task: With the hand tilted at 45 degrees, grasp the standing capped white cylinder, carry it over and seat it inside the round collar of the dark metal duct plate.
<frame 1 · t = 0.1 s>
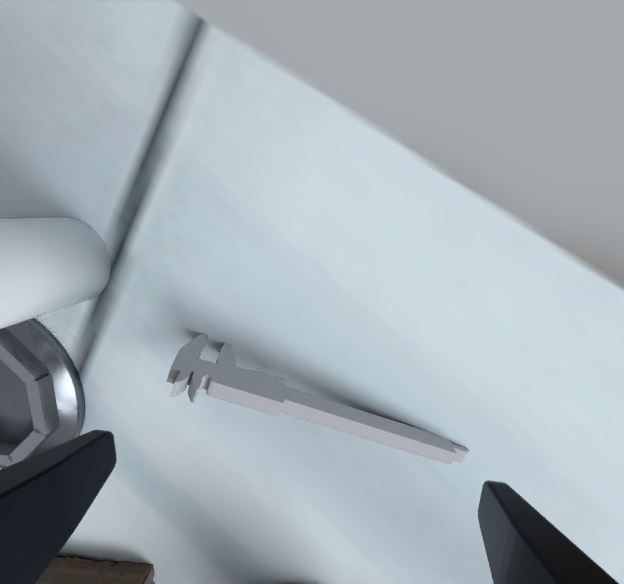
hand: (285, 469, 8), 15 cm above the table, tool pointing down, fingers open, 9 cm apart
caliper: (330, 392, 24), on the table
capped white cylinder: (72, 260, 24), on the table
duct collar: (1, 386, 28), on the table
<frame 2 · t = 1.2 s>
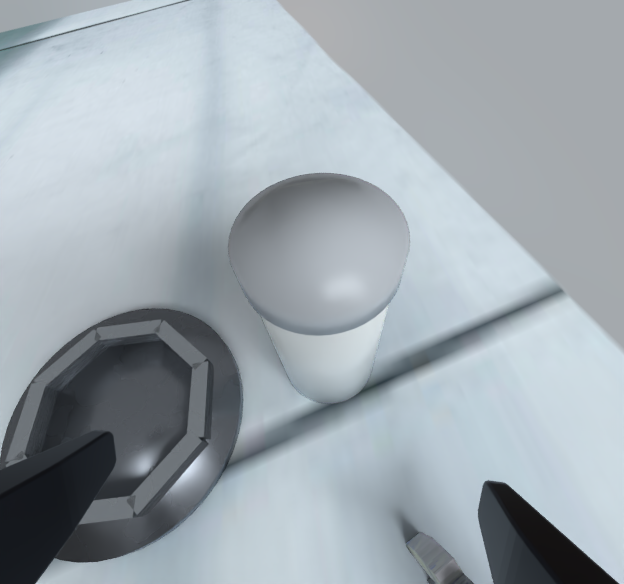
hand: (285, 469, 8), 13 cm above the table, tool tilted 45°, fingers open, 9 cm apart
capped white cylinder: (328, 358, 23), on the table
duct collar: (130, 415, 22), on the table
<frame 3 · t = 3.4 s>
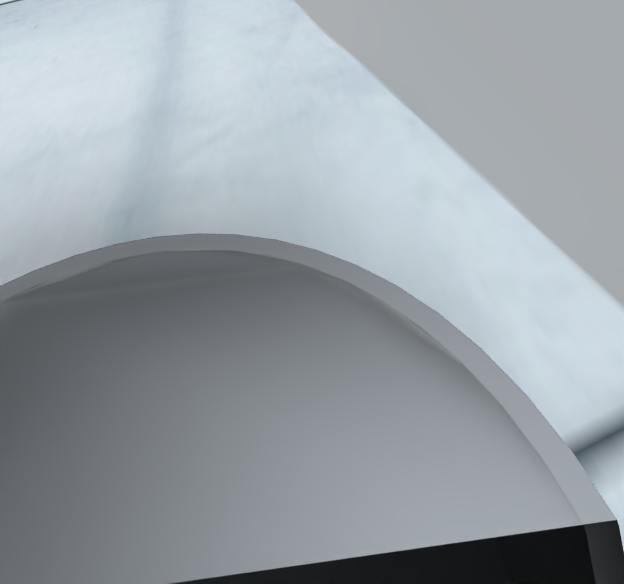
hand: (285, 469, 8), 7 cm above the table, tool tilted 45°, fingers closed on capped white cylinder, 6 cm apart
capped white cylinder: (303, 518, 13), on the table, touching gripper
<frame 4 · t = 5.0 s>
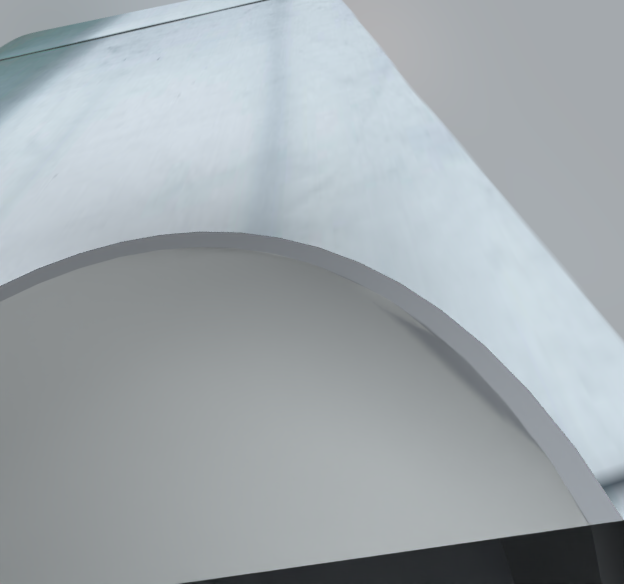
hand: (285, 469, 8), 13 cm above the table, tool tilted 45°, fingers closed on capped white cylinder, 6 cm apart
capped white cylinder: (304, 518, 13), point 7 cm above the table, touching gripper
when the fingers open (9 cm above the table, at t = 6.9 s): capped white cylinder drops 1 cm, resting on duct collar.
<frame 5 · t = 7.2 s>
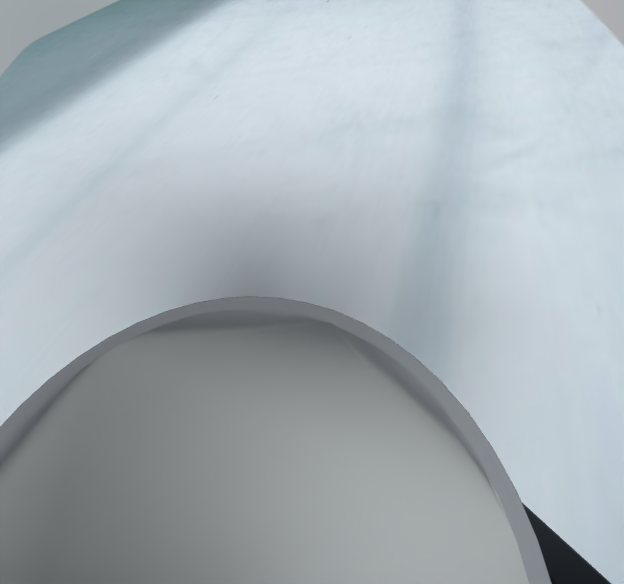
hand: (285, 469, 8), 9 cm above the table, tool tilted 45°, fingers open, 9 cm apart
capped white cylinder: (306, 519, 14), point 1 cm above the table, touching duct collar
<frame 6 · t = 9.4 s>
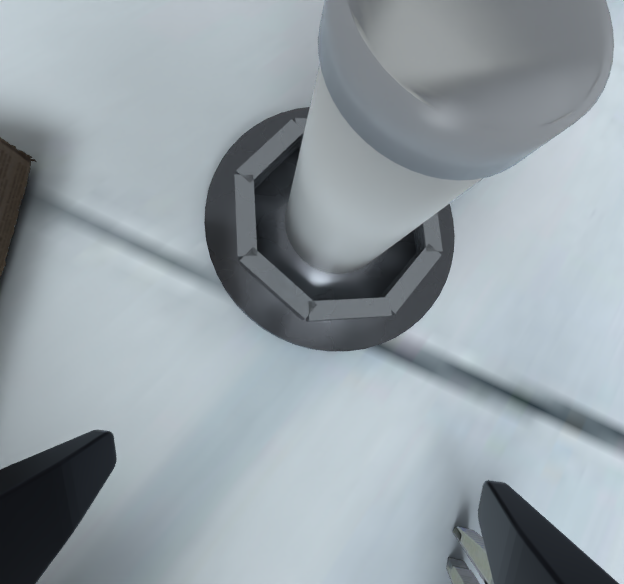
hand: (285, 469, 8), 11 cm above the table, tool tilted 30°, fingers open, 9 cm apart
capped white cylinder: (336, 223, 20), point 1 cm above the table, touching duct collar
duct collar: (334, 226, 20), on the table
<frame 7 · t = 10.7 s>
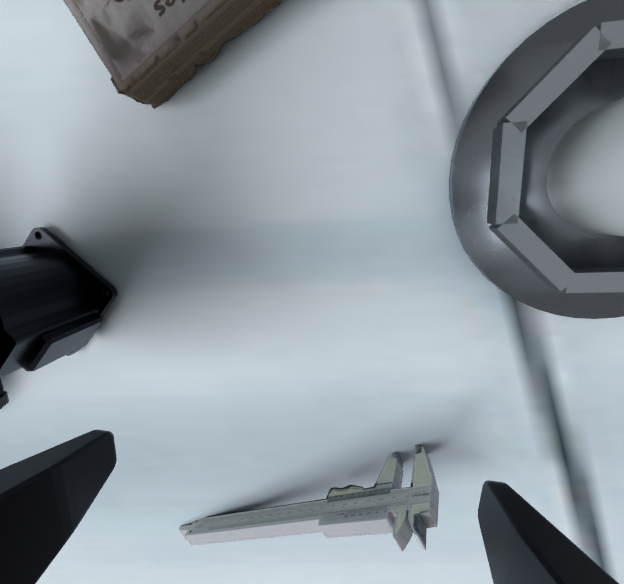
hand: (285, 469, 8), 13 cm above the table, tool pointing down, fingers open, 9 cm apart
caliper: (293, 488, 25), on the table
capped white cylinder: (615, 170, 16), point 1 cm above the table, touching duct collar
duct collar: (606, 171, 17), on the table
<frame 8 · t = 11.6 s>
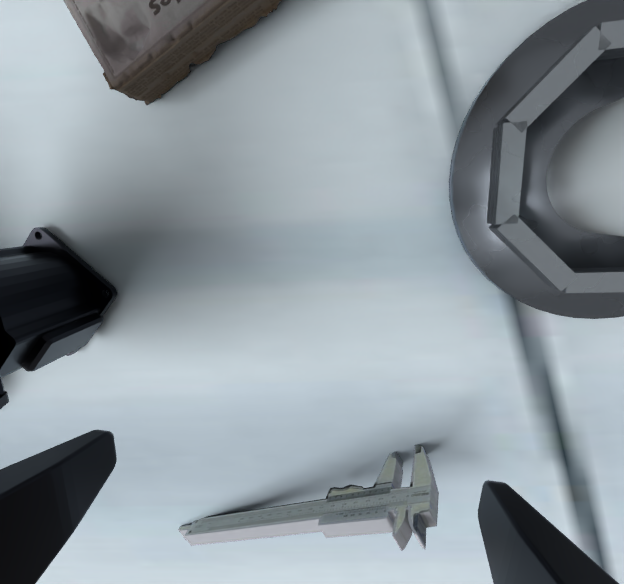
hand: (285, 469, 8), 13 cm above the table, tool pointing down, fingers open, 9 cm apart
caliper: (293, 488, 25), on the table
capped white cylinder: (615, 170, 16), point 1 cm above the table, touching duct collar
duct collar: (606, 171, 17), on the table
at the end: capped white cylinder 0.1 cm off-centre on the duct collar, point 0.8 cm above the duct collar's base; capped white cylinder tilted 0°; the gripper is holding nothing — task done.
